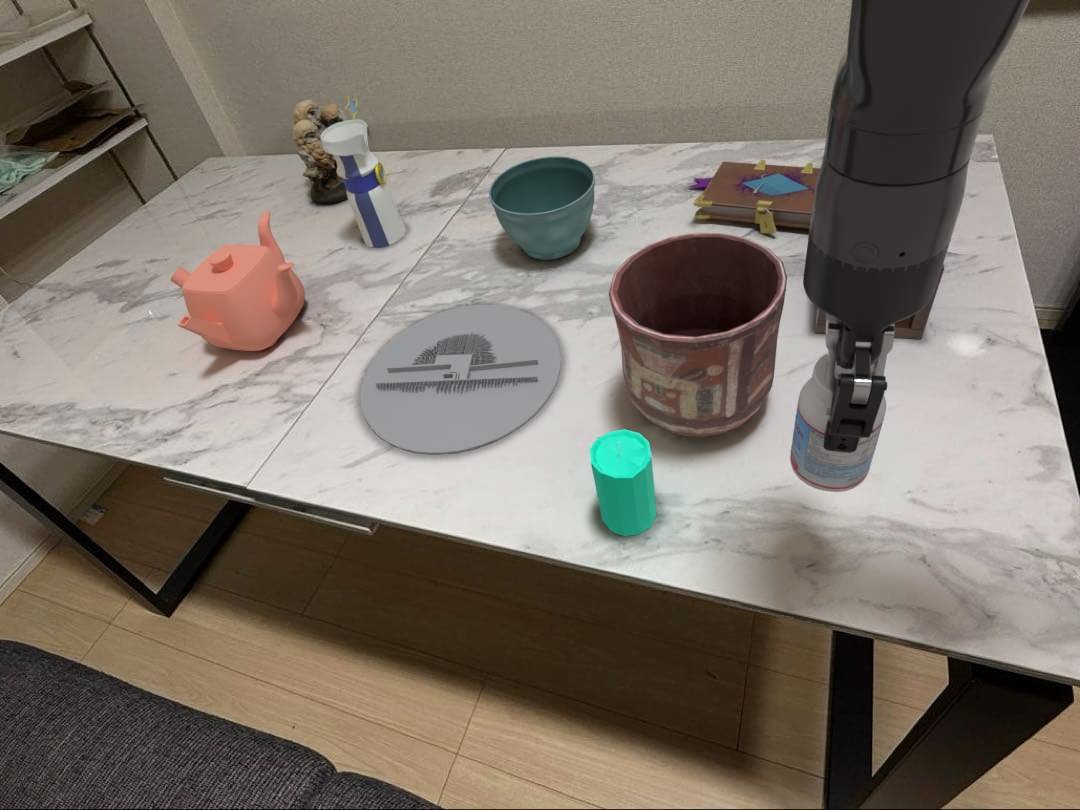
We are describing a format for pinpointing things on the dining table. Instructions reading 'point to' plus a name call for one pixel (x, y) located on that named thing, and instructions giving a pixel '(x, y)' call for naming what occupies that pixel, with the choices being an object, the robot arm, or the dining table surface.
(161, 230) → the dining table surface
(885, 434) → the dining table surface
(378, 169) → the water bottle
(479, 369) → the plate
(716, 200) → the book
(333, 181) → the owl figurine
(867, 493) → the dining table surface
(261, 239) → the teapot
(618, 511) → the candle
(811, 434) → the pill bottle
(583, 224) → the flower pot
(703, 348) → the pottery
